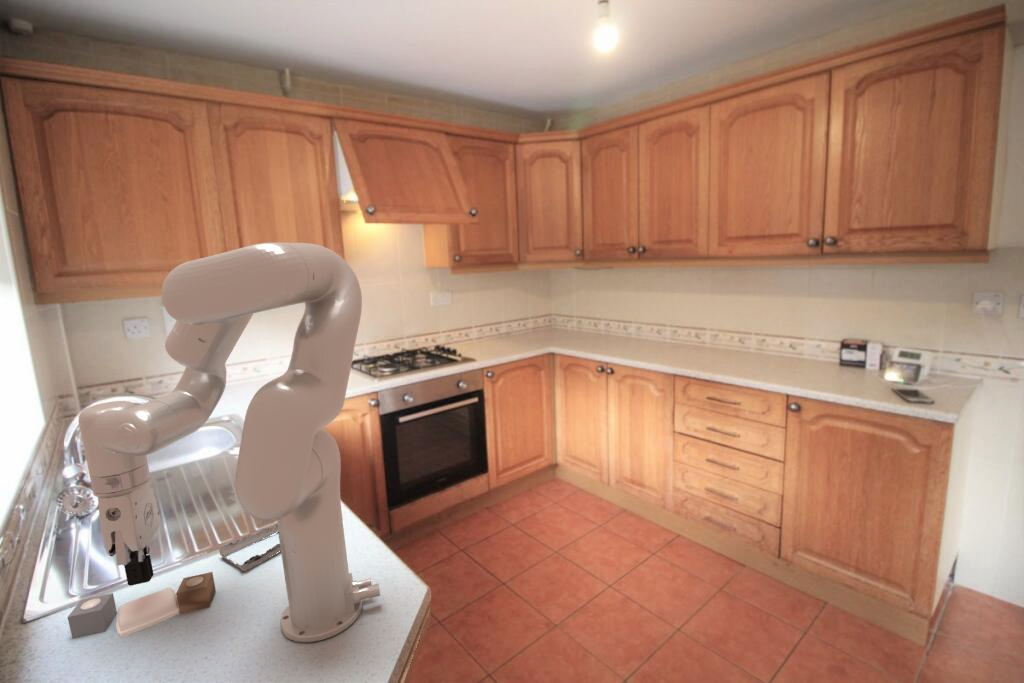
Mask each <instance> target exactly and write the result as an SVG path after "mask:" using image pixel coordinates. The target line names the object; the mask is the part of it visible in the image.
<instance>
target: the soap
mask: <svg viewBox="0 0 1024 683" xmlns="http://www.w3.org/2000/svg"><path fill="white" fill-rule="evenodd" d="M176 593H177V592H175V590H174V589H173V588H172V587H166V588H165V589H161V590H158V591H155V592H152V593H150V594H148V595H144V596H141V597H139V598H137V599H135V600H131V601H129V602H126V603H125V604H122V605H120V606H119V607H118V610H117V615H116V619H115V631H116V634H117V636H118V637H119V638H122V637H126V636H128V635H131V634H132V635H133V634H134V633H137V632H139V631H141V630H145V629H147V628H150V627H152V626H154V625H157V624H159V623H161V622H164V621H167V620H168V619H170V618H173V617H175V616H177V615H180V612H179V607H178V601H177V596H176Z"/></svg>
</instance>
